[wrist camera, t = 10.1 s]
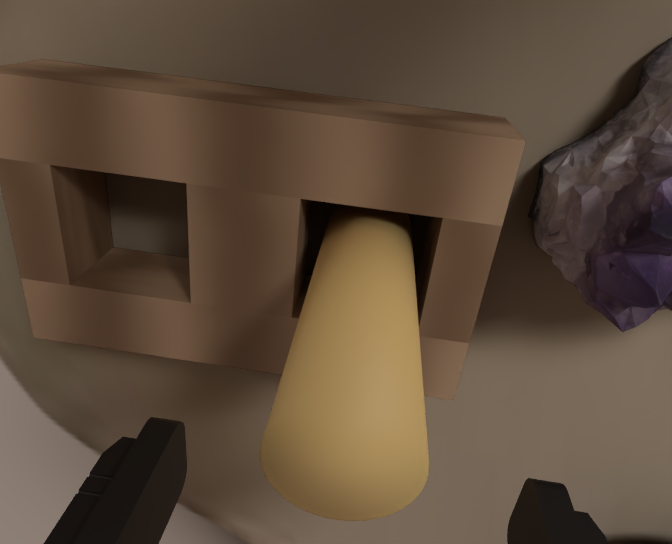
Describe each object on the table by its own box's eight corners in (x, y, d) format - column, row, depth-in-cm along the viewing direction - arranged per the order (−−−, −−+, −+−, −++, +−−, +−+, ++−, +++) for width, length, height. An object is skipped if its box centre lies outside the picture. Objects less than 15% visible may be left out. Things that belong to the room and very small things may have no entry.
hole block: (504, 117, 21) (526, 140, 18) (445, 348, 27) (453, 400, 24) (42, 59, 22) (-25, 70, 19) (79, 295, 28) (33, 337, 24)
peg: (418, 197, 23) (444, 414, 11) (403, 274, 25) (412, 531, 13) (331, 186, 24) (263, 387, 11) (323, 262, 26) (257, 507, 13)
